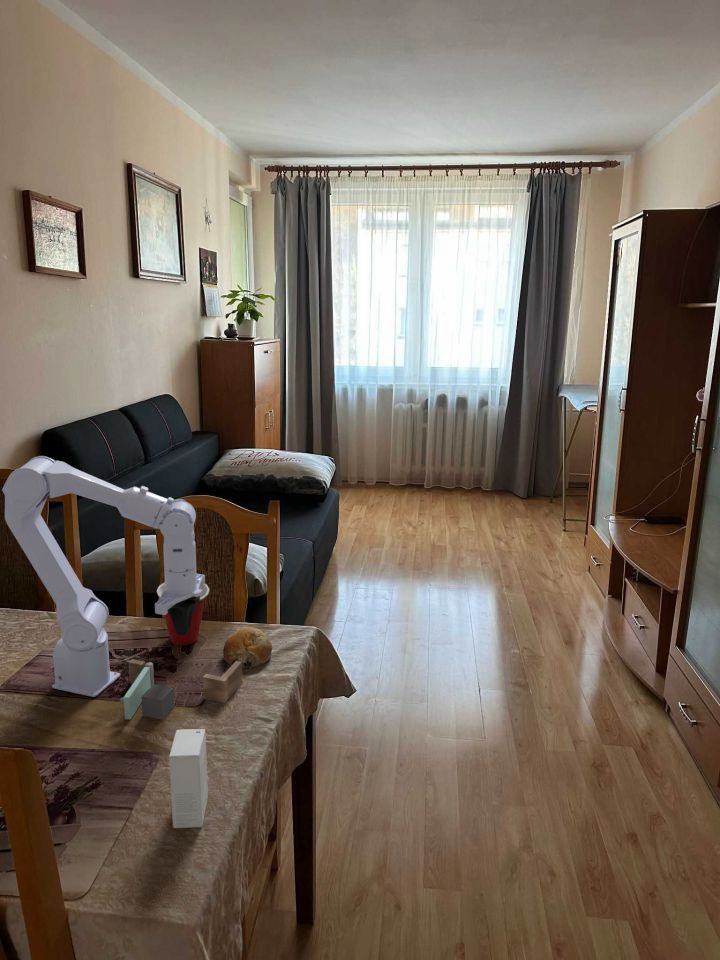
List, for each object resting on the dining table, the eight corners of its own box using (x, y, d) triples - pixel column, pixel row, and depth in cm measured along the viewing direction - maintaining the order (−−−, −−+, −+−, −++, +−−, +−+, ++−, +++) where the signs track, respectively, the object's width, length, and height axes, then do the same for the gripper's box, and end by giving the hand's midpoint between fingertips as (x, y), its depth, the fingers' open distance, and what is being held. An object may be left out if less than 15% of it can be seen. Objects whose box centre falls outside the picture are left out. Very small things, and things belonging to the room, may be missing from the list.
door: (142, 681, 128) (141, 661, 127) (155, 682, 128) (154, 662, 127) (118, 718, 117) (116, 697, 116) (131, 719, 117) (130, 697, 116)
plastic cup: (186, 657, 138) (184, 603, 135) (148, 642, 143) (145, 591, 140) (221, 635, 147) (220, 585, 144) (184, 623, 152) (182, 574, 149)
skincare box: (179, 798, 99) (176, 728, 96) (208, 797, 100) (206, 727, 97) (171, 829, 94) (168, 756, 90) (202, 828, 94) (200, 755, 91)
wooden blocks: (130, 683, 128) (128, 662, 127) (151, 664, 135) (150, 644, 134) (225, 703, 123) (224, 681, 122) (242, 682, 130) (242, 661, 128)
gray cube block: (142, 716, 118) (141, 696, 117) (154, 703, 122) (153, 684, 121) (162, 720, 118) (161, 700, 116) (174, 707, 121) (173, 688, 120)
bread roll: (276, 673, 140) (286, 635, 141) (246, 674, 131) (257, 634, 132) (240, 659, 145) (250, 622, 146) (209, 659, 136) (220, 620, 137)
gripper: (178, 584, 116) (181, 655, 120) (218, 555, 130) (219, 619, 133) (143, 579, 118) (146, 648, 121) (185, 551, 131) (188, 614, 135)
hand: (182, 633), depth 127 cm, fingers closed
